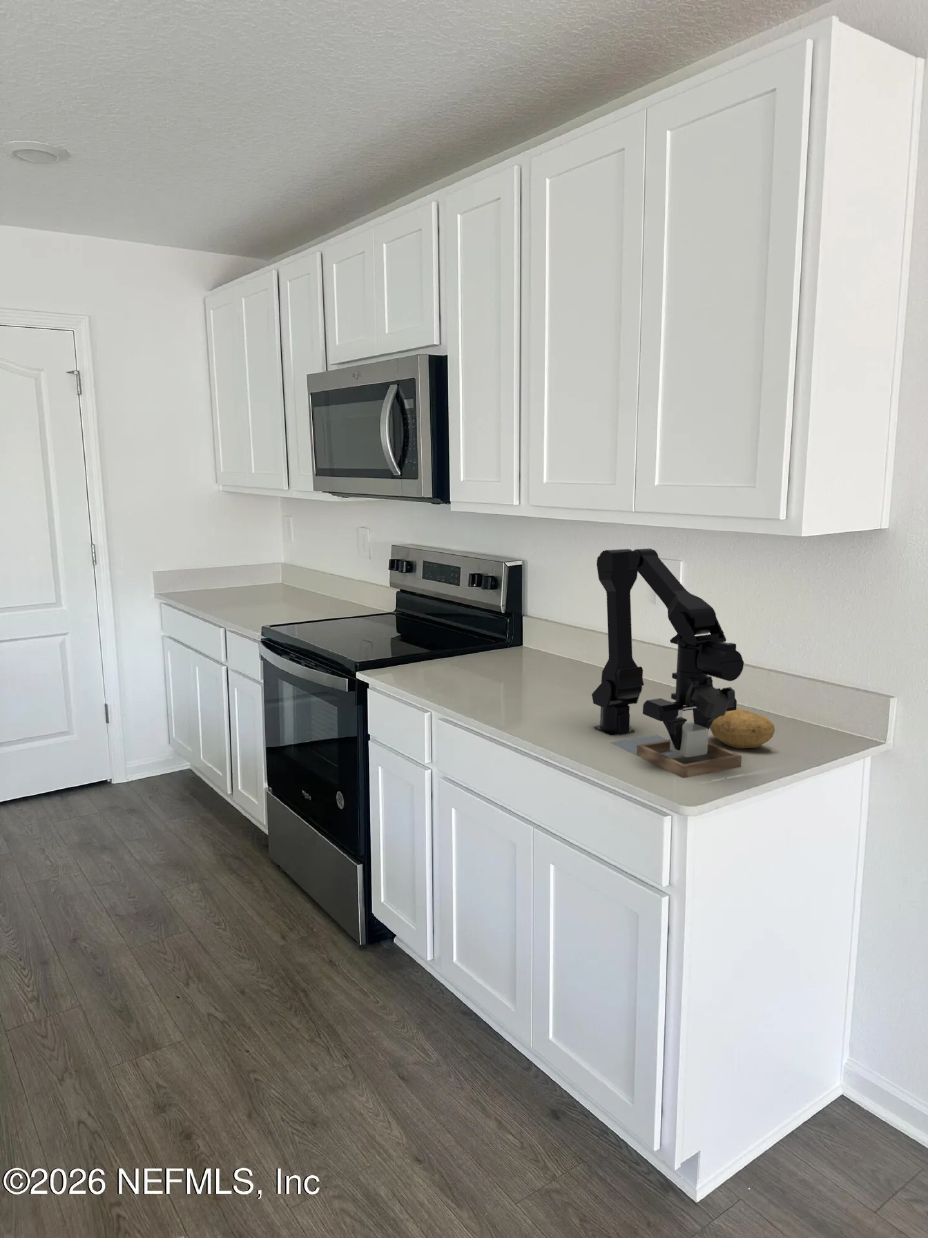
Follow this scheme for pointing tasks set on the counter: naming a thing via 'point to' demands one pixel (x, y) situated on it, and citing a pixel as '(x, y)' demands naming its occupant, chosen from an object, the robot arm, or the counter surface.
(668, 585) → the robot arm
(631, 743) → the mat
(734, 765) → the bin
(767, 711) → the counter surface
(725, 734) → the potato
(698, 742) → the white cube
